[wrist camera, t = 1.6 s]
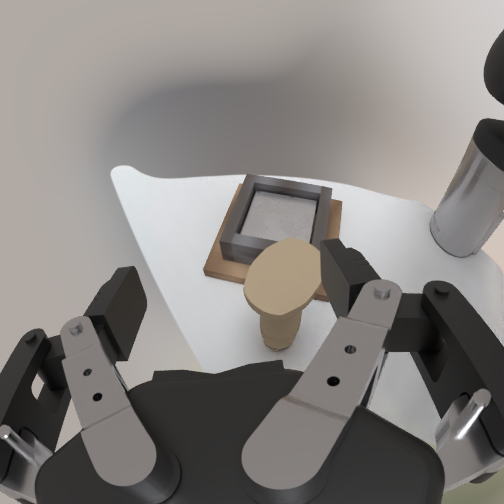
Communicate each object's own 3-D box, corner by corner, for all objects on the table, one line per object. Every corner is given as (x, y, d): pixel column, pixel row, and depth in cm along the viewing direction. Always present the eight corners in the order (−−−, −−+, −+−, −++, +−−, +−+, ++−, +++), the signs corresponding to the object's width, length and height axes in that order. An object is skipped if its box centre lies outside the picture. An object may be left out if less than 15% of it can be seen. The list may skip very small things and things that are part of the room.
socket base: (340, 207, 44) (347, 181, 39) (328, 301, 35) (337, 280, 31) (240, 190, 47) (237, 163, 42) (205, 275, 38) (196, 251, 34)
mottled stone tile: (316, 205, 40) (316, 200, 39) (306, 254, 35) (307, 251, 35) (256, 194, 41) (256, 190, 41) (239, 241, 37) (238, 237, 36)
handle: (244, 348, 33) (229, 287, 20) (277, 307, 35) (283, 228, 23) (278, 372, 31) (287, 328, 18) (310, 329, 34) (337, 259, 21)
